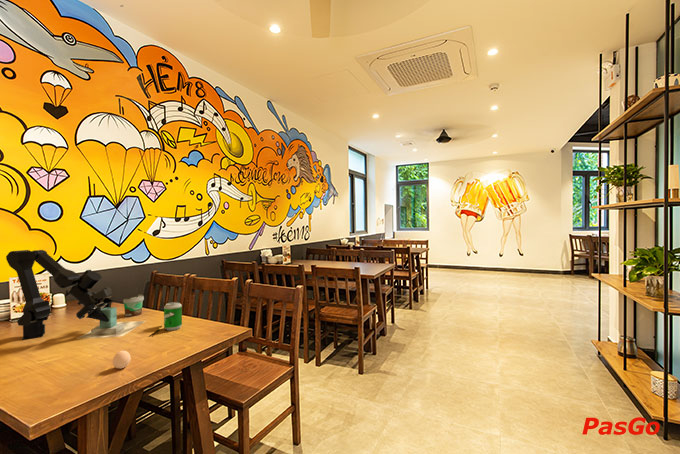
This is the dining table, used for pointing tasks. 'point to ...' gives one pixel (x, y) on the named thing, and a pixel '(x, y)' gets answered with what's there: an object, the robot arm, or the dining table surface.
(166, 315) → the soda can
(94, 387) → the dining table surface
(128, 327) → the birch board
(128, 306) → the food container
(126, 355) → the egg
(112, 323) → the block
